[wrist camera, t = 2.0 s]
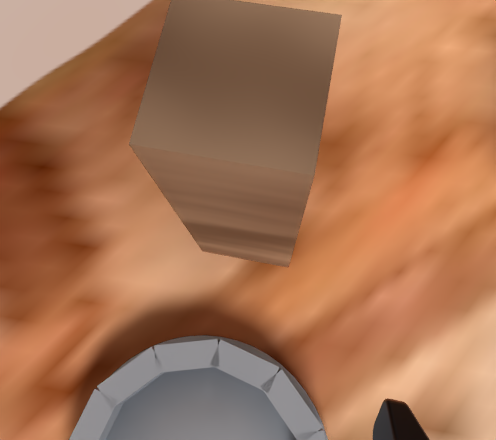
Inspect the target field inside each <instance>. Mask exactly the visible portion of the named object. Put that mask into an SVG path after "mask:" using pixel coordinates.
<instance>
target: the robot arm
mask: <svg viewBox="0 0 496 440" xmlns="http://www.w3.org/2000/svg"><path fill="white" fill-rule="evenodd" d="M373 440H429V438H428V436H427V435H426V433H425V432H424V430H423V429H422V427H421V425H420V424H419V422H418V421H417V419H416V417H415V416H414V414H413V413H412V411H411V410H410V408H409V406H408V405H407V404H406V403H404V402H402V401H397V400H393V399H385V400H384V401H383V403H382V406H381V408H380V411H379V413H378V416H377V418H376V421H375V424H374V428H373Z"/></svg>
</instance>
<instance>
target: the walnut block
mask: <svg viewBox="0 0 496 440" xmlns="http://www.w3.org/2000/svg"><path fill="white" fill-rule="evenodd" d="M341 16H342V15H338V14H330V13H323V12H315V11H308V10H301V9H293V8H286V7H278V6H271V5H264V4H256V3H249V2H241V1H234V0H171V2H170V6H169V9H168V13H167V16H166V19H165V23H164V26H163V30H162V33H161V36H160V40H159V43H158V47H157V50H156V54H155V57H154V60H153V64H152V67H151V71H150V74H149V77H148V81H147V84H146V88H145V91H144V94H143V98H142V101H141V105H140V108H139V112H138V115H137V118H136V122H135V125H134V129H133V132H132V135H131V139H130V142H129V145H130V146H131V148H132V149H133V151H134V152H135V154H136V155H137V157H138V158H139V160H140V161H141V162H142V164H143V165H144V167H145V168H146V170H147V171H148V173H149V174H150V176H151V177H152V178H153V180H154V181H155V183H156V184H157V186H158V187H159V189H160V190H161V192H162V193H163V194H164V196H165V197H166V199H167V200H168V202H169V203H170V205H171V206H172V208H173V209H174V210H175V212H176V213H177V215H178V216H179V218H180V219H181V221H182V222H183V224H184V225H185V226H186V228H187V229H188V231H189V232H190V234H191V235H192V237H193V238H194V240H195V241H196V242H197V244H198V245H199V247H200V248H201V250H202V251H204V252H210V253H215V254H220V255H226V256H231V257H236V258H241V259H247V260H252V261H257V262H263V263H268V264H273V265H278V266H284V267H289V264H290V260H291V257H292V253H293V249H294V246H295V242H296V239H297V235H298V232H299V228H300V225H301V221H302V218H303V214H304V210H305V207H306V203H307V200H308V196H309V193H310V189H311V186H312V182H313V179H314V175H315V169H316V163H317V157H318V151H319V145H320V139H321V133H322V128H323V122H324V116H325V110H326V104H327V98H328V92H329V86H330V80H331V75H332V69H333V63H334V57H335V51H336V45H337V39H338V33H339V28H340V22H341Z"/></svg>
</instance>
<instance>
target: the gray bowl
mask: <svg viewBox="0 0 496 440" xmlns="http://www.w3.org/2000/svg"><path fill="white" fill-rule="evenodd" d="M97 387H98V388H96V389H94V391H93V393H92V395H91V397H90V399H89V401H88V403H87V405H86V407H85V409H84V411H83V413H82V415H81V417H80V419H79V421H78V423H77V425H76V427H75V429H74V431H73V433H72V435H71V437H70V439H69V440H328V439H327V436H326V433H325V430H324V426H323V423H322V421H321V419H320V417H319V415H318V412H317V410H316V408H315V406H314V404H313V403H312V401H311V400H310V398H309V396H308V395H307V393H306V391H305V390H304V389H303V388H302V386H301V385H300V384H299V383H298V381H297V380H296V379H295V378H294V376H293V375H292V374H291V373H290V372H288V371H287V370H286V369H285V368H284V367H283V366H282V365H281V364H280V363H279V362H277V361H276V360H275V359H273V358H272V357H270V356H269V355H268V354H266V353H264V352H262V351H261V350H259V349H257V348H255V347H253V346H251V345H248V344H245V343H243V342H240V341H237V340H233V339H229V338H225V337H217V336H207V335H203V336H187V337H181V338H175V339H172V340H168V341H165V342H162V343H159V344H157V345H154V346H152V347H150V348H148V349H146V350H144V351H142V352H140V353H139V354H137V355H136V356H134V357H132V358H131V359H129V360H128V361H127V362H126V363H124V364H123V365H122V366H121V367H119V368H118V369H117V370H116V371H115V372H114V373H113V374H112V375H111V376H110V377H109V378H107V379H106V380H105V381H103V382H102V383H101V384H99V385H98V386H97Z"/></svg>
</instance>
